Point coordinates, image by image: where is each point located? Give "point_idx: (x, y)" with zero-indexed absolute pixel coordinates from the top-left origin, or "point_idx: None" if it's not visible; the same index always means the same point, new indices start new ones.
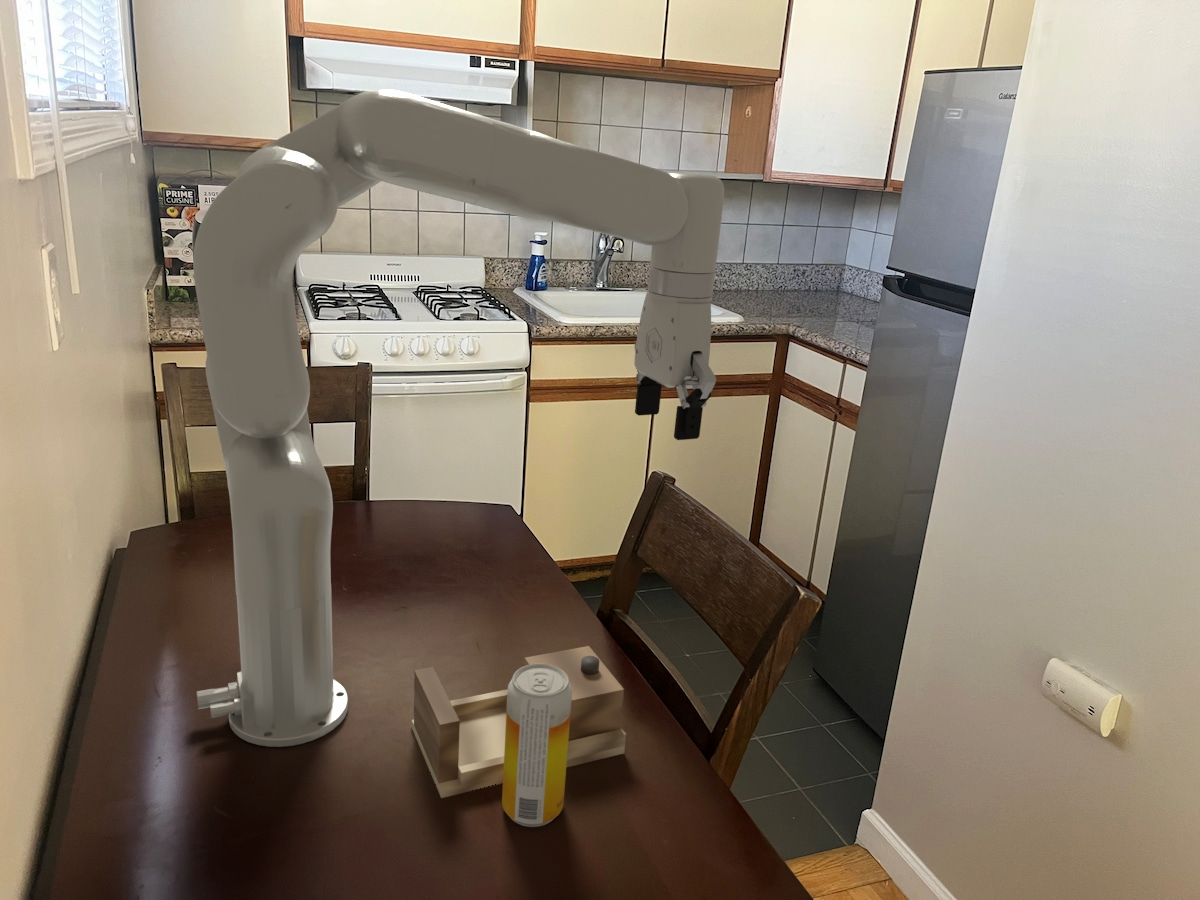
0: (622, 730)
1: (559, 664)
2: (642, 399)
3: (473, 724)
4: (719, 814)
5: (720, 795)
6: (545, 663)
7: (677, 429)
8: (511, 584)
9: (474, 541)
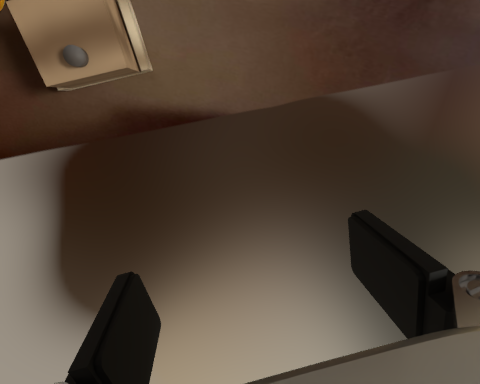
0: (63, 88)
1: (85, 23)
2: (379, 250)
3: None
4: (4, 145)
5: (26, 152)
6: (86, 6)
7: (108, 296)
8: (347, 36)
9: (450, 6)
